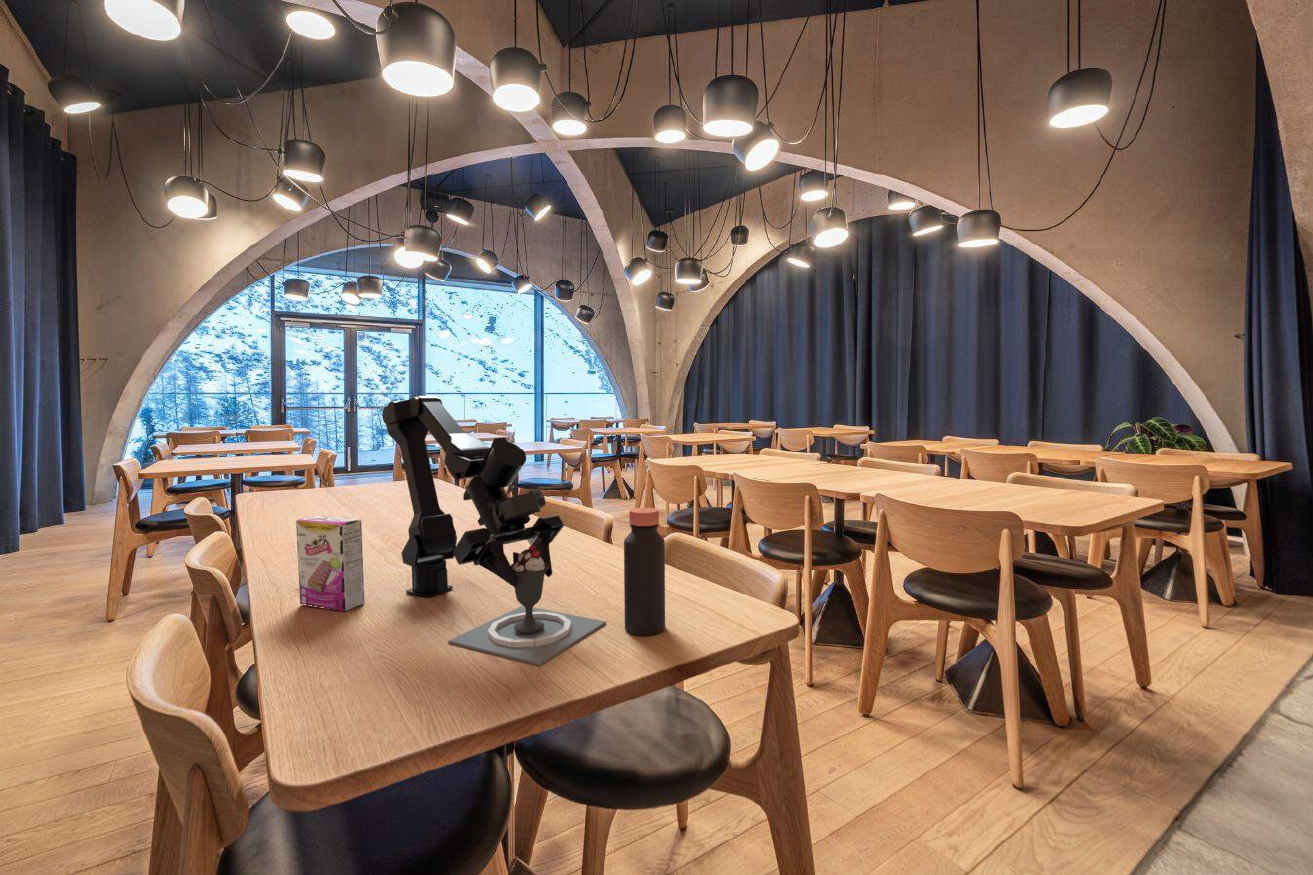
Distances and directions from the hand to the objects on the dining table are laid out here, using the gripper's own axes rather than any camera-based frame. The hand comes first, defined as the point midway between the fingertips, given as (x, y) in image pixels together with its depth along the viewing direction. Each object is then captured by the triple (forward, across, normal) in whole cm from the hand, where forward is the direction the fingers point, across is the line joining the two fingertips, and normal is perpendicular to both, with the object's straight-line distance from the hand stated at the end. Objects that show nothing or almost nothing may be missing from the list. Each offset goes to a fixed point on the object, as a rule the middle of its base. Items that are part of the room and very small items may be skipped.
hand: (533, 580), depth 97 cm
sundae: (+5, 0, +7) cm, 8 cm away
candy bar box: (-22, -16, +36) cm, 45 cm away
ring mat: (+6, 0, +7) cm, 9 cm away
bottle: (+15, +14, -2) cm, 20 cm away
